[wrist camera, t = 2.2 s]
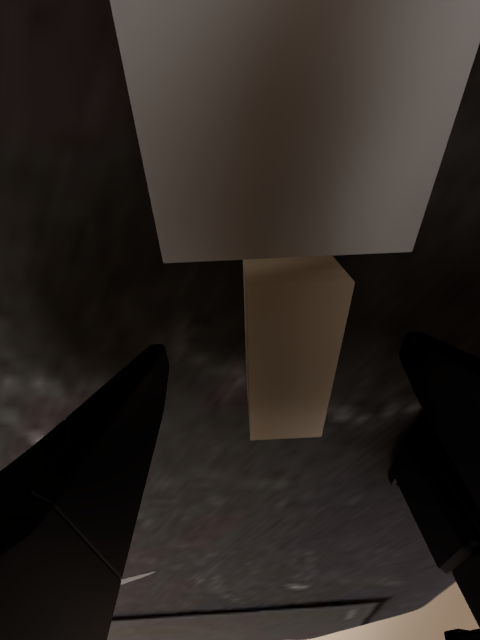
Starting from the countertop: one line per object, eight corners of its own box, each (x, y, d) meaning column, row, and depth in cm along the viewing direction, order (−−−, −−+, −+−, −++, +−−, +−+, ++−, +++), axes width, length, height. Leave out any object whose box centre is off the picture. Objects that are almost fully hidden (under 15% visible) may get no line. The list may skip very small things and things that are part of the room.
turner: (467, 1, 6) (608, -81, 4) (357, 380, 12) (385, 433, 10) (123, 15, 6) (59, -57, 3) (194, 388, 12) (186, 443, 10)
